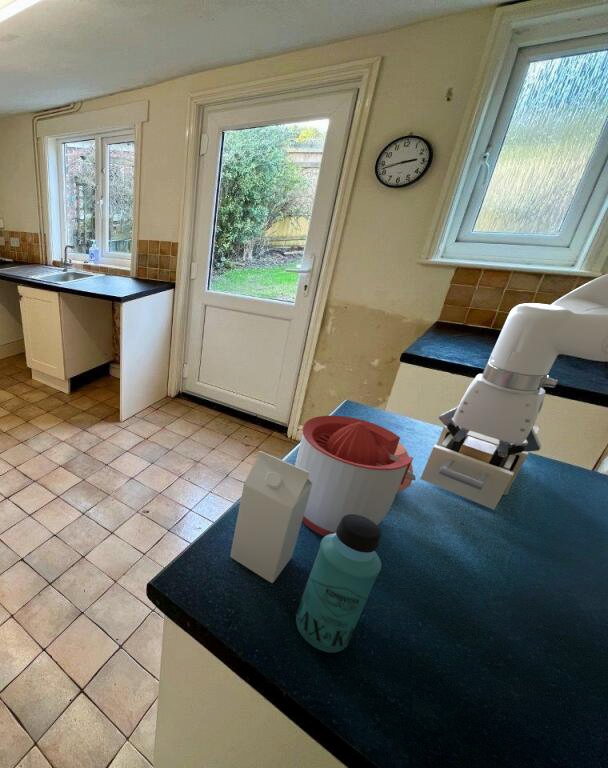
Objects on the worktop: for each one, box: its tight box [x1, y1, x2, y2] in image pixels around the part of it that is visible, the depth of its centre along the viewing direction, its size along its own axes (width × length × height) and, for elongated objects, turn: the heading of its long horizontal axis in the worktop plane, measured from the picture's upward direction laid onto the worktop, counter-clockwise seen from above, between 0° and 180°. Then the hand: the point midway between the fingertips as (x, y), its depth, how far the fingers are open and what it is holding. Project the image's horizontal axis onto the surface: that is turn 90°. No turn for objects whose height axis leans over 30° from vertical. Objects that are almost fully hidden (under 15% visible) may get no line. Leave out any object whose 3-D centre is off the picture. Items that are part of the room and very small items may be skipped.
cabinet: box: [435, 418, 541, 496], centre depth 86 cm, size 15×13×10 cm
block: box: [459, 436, 498, 464], centre depth 78 cm, size 4×4×4 cm
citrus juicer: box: [294, 415, 416, 537], centre depth 70 cm, size 16×17×20 cm
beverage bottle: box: [295, 514, 382, 654], centre depth 51 cm, size 6×7×20 cm
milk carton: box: [229, 450, 312, 584], centre depth 63 cm, size 7×7×19 cm
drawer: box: [419, 433, 516, 510], centre depth 79 cm, size 19×11×8 cm, turn 130°
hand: (471, 462), depth 79 cm, fingers closed on block, 4 cm apart
